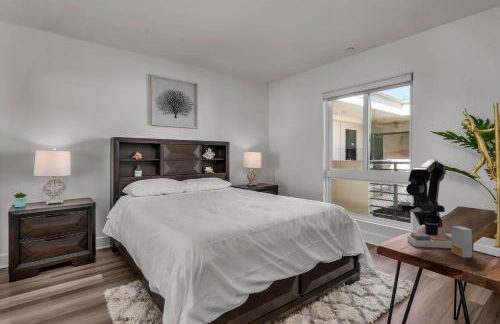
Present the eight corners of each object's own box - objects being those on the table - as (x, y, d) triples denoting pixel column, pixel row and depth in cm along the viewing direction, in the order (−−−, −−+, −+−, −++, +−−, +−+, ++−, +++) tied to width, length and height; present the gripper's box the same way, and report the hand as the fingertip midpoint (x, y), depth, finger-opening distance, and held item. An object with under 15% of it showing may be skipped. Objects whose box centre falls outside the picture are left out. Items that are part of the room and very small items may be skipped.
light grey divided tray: (407, 240, 131) (407, 235, 131) (458, 243, 127) (458, 237, 127) (414, 246, 123) (414, 240, 123) (469, 248, 119) (469, 242, 119)
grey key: (410, 237, 130) (410, 232, 130) (424, 237, 129) (424, 232, 129) (416, 241, 124) (416, 235, 124) (430, 241, 123) (430, 236, 123)
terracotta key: (427, 240, 128) (427, 235, 128) (440, 240, 127) (440, 235, 127) (433, 244, 122) (433, 238, 122) (447, 244, 121) (447, 239, 121)
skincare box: (450, 252, 115) (450, 225, 114) (459, 252, 115) (459, 225, 115) (463, 257, 109) (463, 229, 108) (472, 257, 109) (472, 229, 109)
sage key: (443, 238, 127) (443, 233, 127) (457, 239, 126) (457, 233, 126) (450, 242, 121) (450, 237, 121) (465, 243, 120) (465, 237, 120)
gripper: (406, 195, 119) (406, 229, 120) (451, 196, 116) (451, 230, 116) (397, 192, 130) (397, 223, 131) (438, 192, 127) (438, 224, 127)
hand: (420, 225), depth 126 cm, fingers closed
